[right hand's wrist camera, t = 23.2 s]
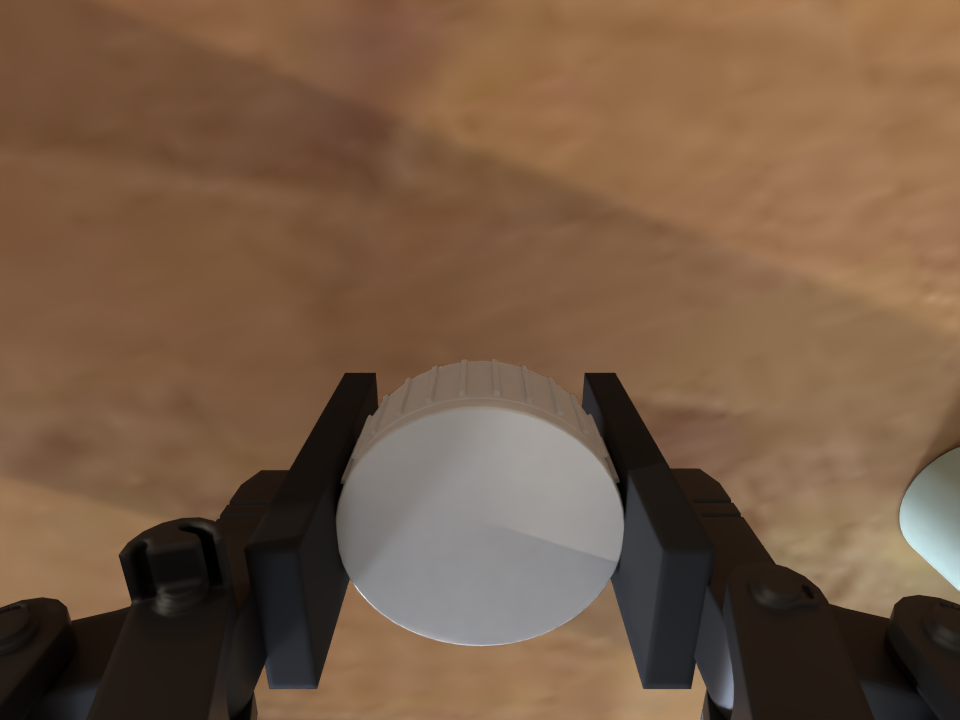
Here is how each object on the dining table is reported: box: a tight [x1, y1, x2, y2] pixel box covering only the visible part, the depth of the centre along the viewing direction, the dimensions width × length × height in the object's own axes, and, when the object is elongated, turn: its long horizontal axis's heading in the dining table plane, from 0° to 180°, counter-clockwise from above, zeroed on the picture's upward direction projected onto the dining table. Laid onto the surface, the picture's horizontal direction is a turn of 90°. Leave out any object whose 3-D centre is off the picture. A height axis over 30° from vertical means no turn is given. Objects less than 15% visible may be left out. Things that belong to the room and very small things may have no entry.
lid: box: [336, 359, 625, 646], centre depth 11 cm, size 5×5×2 cm
